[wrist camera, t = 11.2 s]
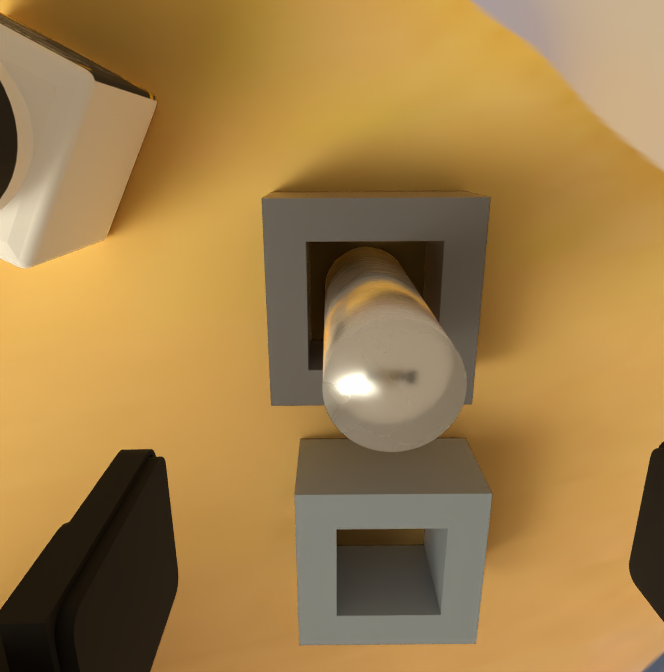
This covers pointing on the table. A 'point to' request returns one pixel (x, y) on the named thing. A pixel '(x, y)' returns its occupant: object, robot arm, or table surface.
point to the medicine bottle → (61, 145)
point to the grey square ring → (368, 225)
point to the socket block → (390, 560)
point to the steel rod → (386, 356)
